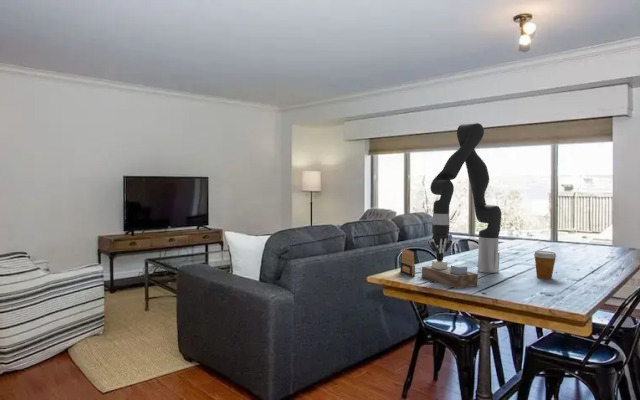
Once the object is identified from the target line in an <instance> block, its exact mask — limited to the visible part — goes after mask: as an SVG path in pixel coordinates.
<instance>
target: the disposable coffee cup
mask: <svg viewBox="0 0 640 400" xmlns="http://www.w3.org/2000/svg"><path fill="white" fill-rule="evenodd" d="M533 255H534V260H535V262H534V263H535V271H536V278H538V279H543V280H551V278H553V273H554V268H555V263H556V258H557V254H556V252H553V251H548V250H546V251H545V250H536V251H535V250H534V253H533Z"/></svg>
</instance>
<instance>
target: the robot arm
mask: <svg viewBox="0 0 640 400" xmlns="http://www.w3.org/2000/svg"><path fill="white" fill-rule="evenodd" d="M484 133H485V129H484V127H483V125H482V124H481V123H479V122H472V123H471V122H470V123H462V124H459V125H458V127H457V130H456V136H457V138H456V139H457V141H458V144H459V146H460V147H459V148H458V149H457V150H456V151H455V152H454V153H452V155H451V156H450V157H449V158H448V159H447V161H446V163H445V164H444V165H443V168H442V169H441V171H439V173H438V174H437V175H436V176H435V177H434V179H433V180H432V181H431V184H430V188H429V189H430V192H431V194H433V195H436V196H440V197H439V199H438V200H435V201H434V202H433V210H432V212H433V213H432V220H431V221H432V222H431V223H432V224H431V226H432V227H431V233H432V238H431V240H429V241H428V242H427V243H428V245H429V248H431V250H432V252H434V253H436V256H435V257H436V260H437V261H439V262H440V261H444V254H445V253H447V252H448V250H449V249H450V247H451V245H452V244H453V240H450V237H449V234H450V205H451V202H452V197H453V195H454V192H455V191H454V188H455V187H454V184H453V182H452V181H453V180H455V179H456V178H457V176H458V175H459V173H460V171H461V169H462V167H463V165H464V164H465V167H466V172H467V176H468V180H469V183H470V188H471V193H472V198H473V205H474V206H473V207H474V212H475V218H476V220H477V221H478V222H479V223H482V224H487V227H486V228H484V229H481V230H479V232H478V249H477V251H478V252H477V254H478V257H477V271H478V272H481V273H486V274H496V273H498V272H500V252H499V238H500V237H499V235H500V232H501V223H502V209H501V207H500V206H498V205H494V204H487V202H486V199H485V197H486V196H485V194H486V191H487V188H488V186H489V183H490V175H489V170H488V167H487V165H486V163H485V161H484V160H483V159H482V158H481V157H480V155H479V154H478V153H477V152H476V149H475V148H476V147H478V145H479V143H480V142H481V141H482V139H483V137H484Z"/></svg>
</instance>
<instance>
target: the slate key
mask: <svg viewBox="0 0 640 400" xmlns="http://www.w3.org/2000/svg"><path fill="white" fill-rule="evenodd" d="M450 267H451V273H454V274H458V275H461V274H467V271H468V266H466V265H462V264H454V265H453V264H452V265H450Z"/></svg>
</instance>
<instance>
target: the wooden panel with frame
mask: <svg viewBox="0 0 640 400" xmlns="http://www.w3.org/2000/svg"><path fill="white" fill-rule="evenodd" d="M399 271H400V273H401V274H402V275H403V274H404V275H405V276H408V277H410V278H415V277H416V266H415V253H414V250H413V251H412V250H410V249H406V248H404V247H403V248H402V250H401V261H400V270H399Z"/></svg>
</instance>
